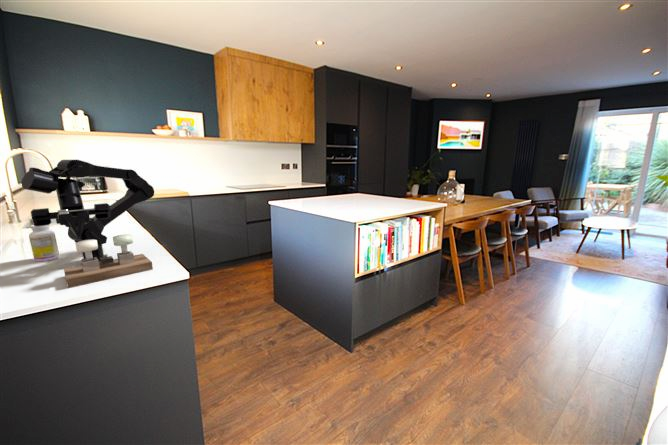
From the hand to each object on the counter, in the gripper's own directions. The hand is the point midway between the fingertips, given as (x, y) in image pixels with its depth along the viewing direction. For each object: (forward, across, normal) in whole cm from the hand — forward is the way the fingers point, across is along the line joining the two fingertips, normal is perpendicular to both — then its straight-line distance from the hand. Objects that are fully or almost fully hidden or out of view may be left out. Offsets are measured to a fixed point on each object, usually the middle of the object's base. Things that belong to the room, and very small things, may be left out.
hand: (78, 236), depth 92 cm
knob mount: (+12, -6, -4) cm, 14 cm away
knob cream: (+8, -1, 0) cm, 8 cm away
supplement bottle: (-9, +8, -29) cm, 31 cm away
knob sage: (+8, -10, 0) cm, 13 cm away
